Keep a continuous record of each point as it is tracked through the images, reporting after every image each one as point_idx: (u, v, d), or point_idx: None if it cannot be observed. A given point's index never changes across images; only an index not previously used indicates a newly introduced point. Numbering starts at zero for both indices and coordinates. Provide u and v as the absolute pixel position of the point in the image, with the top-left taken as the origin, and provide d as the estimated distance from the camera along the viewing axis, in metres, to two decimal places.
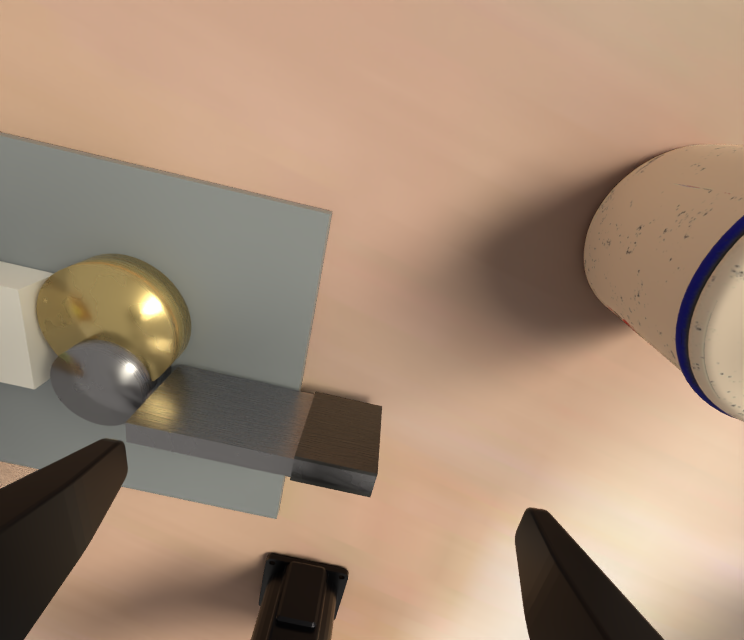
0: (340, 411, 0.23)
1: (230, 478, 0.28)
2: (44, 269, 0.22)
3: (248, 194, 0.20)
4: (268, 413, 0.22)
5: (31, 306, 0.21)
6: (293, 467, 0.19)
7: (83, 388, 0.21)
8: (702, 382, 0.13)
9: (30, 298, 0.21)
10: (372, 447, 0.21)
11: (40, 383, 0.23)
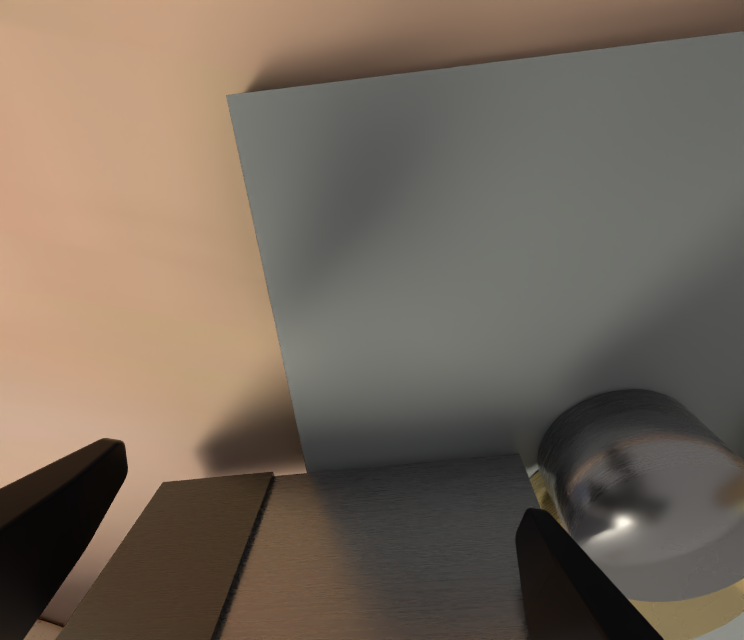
0: None
1: (389, 213, 0.10)
2: None
3: None
4: None
5: None
6: None
7: (707, 533, 0.10)
8: None
9: None
10: None
11: None
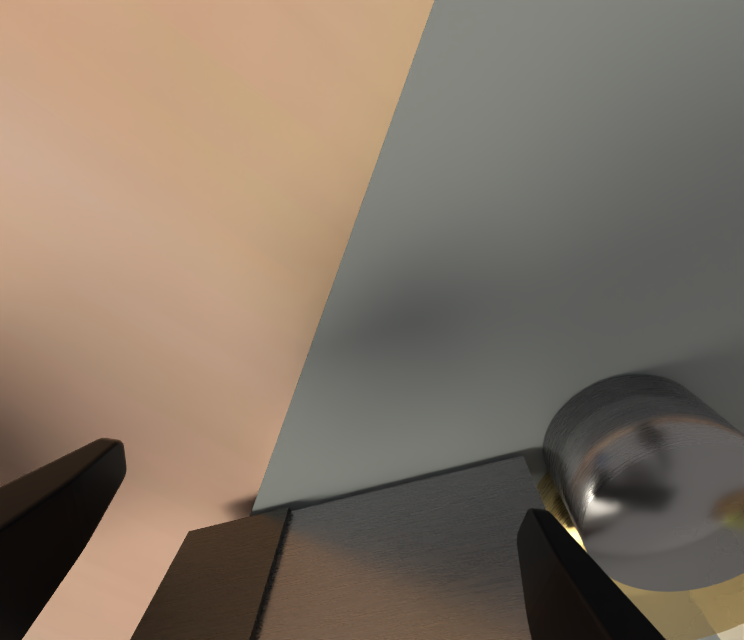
0: None
1: (575, 80, 0.09)
2: None
3: None
4: None
5: None
6: None
7: (718, 514, 0.10)
8: None
9: None
10: None
11: None
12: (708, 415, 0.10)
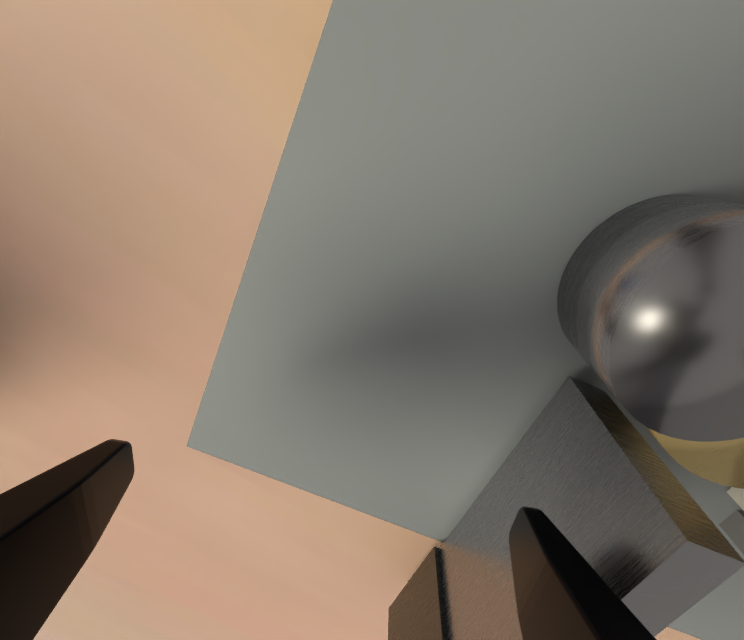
0: None
1: None
2: (673, 469, 0.13)
3: (298, 485, 0.14)
4: None
5: None
6: None
7: None
8: None
9: None
10: None
11: None
12: (666, 224, 0.08)
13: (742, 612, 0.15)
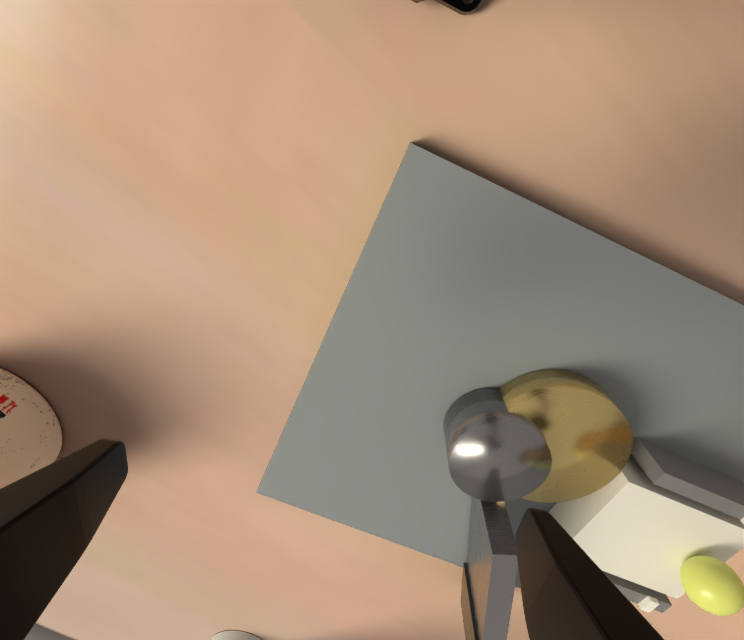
0: None
1: (452, 244, 0.18)
2: (515, 505, 0.25)
3: (316, 512, 0.26)
4: None
5: (566, 531, 0.23)
6: None
7: (498, 454, 0.19)
8: None
9: None
10: None
11: (622, 477, 0.21)
12: (455, 426, 0.20)
13: None
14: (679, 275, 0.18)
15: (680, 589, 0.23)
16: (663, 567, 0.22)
